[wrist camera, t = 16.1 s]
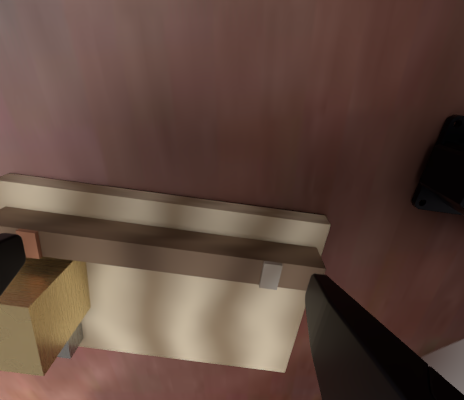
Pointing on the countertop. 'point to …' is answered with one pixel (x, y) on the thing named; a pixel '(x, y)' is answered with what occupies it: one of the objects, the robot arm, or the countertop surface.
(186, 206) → the board
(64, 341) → the tan box
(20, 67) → the countertop surface
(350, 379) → the robot arm
